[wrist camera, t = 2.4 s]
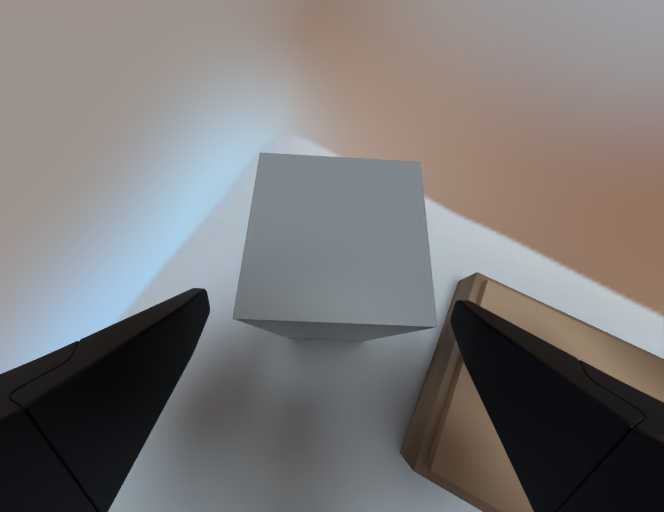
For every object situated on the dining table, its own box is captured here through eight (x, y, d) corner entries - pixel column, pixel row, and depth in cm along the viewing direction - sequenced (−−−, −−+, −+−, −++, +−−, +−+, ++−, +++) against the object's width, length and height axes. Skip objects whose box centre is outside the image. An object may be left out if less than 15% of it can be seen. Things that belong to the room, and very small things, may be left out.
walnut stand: (603, 570, 14) (674, 626, 11) (400, 453, 15) (417, 476, 13) (623, 359, 18) (679, 361, 15) (458, 281, 19) (482, 269, 16)
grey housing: (362, 341, 18) (437, 327, 6) (289, 338, 17) (232, 318, 6) (362, 271, 19) (420, 161, 8) (295, 268, 19) (259, 152, 8)
